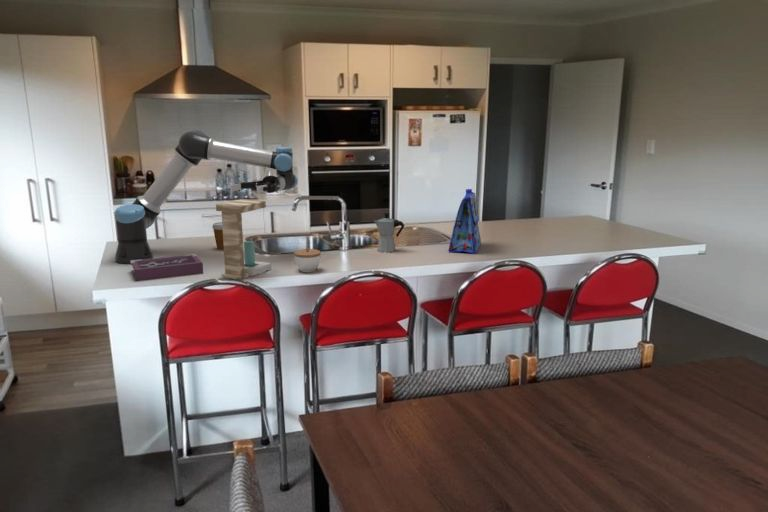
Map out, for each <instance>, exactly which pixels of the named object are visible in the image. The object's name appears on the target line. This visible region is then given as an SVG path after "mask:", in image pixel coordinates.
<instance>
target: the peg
mask: <svg viewBox="0 0 768 512" xmlns="http://www.w3.org/2000/svg"><path fill="white" fill-rule="evenodd" d="M243 251H244V261H245V266H246V267H254V266H255V261H256V256H255V255H256V252H255V241H253V240H247V241H243Z"/></svg>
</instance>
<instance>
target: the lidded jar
mask: <svg viewBox="0 0 768 512" xmlns="http://www.w3.org/2000/svg"><path fill="white" fill-rule="evenodd" d="M321 252H322V251H320V250H319V249H314V248H309V247H306V248H305V249H304V248H303V249H297V250H295V251H294V253H293V255H294V263H295V265H296V267H297V268H298V269H299V270H300V271H301V272H304V273H312V272H315V271H316V270H317V268H318V267H319V266H320V263H321V254H322V253H321Z"/></svg>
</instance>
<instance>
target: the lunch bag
mask: <svg viewBox="0 0 768 512" xmlns="http://www.w3.org/2000/svg"><path fill="white" fill-rule="evenodd" d="M479 221H480V219H479V213H478V205H477V197H476V193H475V192H473V189H472V188H466V189H465V195H464V197H463V198H462V199H461V202H460V204H459V207H458V210H457V213H456V216H455V219H454V224H453V228H452V232H451V237H450V241H449V246H448V253H454V252H455V253H457V252H458V253H459V252H460V253H461V252H465V253H469V254H473V255H475V254H477V251H478V249H479V247H480V246H481V245H482V240H481V239H482V238H481V233H480V227H479Z"/></svg>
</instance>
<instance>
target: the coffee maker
mask: <svg viewBox="0 0 768 512" xmlns="http://www.w3.org/2000/svg"><path fill="white" fill-rule="evenodd" d="M389 215H390V212H384V215H383V216H384V217H383V218H380V219H378V220H373V222H374V223H375V226H376V227H377V229H378V233H379V238H378V243H377V252H379V253H384V252H386V253H385V254H389V253H388V252H390V253H395V252H396V251H395V250H396V243H395V238H394V234H395V228H396V227H399V226H400V228H399V230H398V232H397V233H396V234H395V236H396V237H397V238H398V237H399V235H400V234H401V232H402V231H403V229H404V227H405V224H404V223H403V221H402V220H398V219H393V218H390V217H389Z"/></svg>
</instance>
